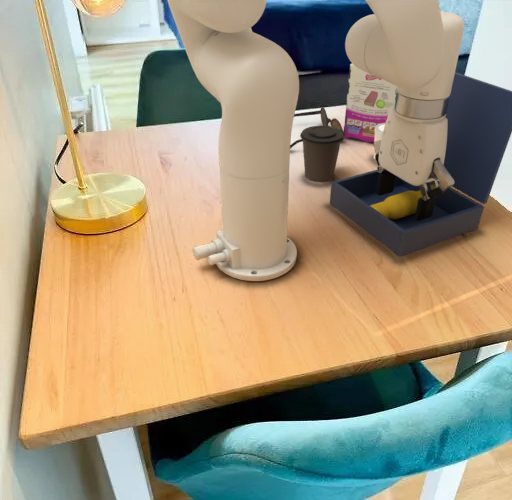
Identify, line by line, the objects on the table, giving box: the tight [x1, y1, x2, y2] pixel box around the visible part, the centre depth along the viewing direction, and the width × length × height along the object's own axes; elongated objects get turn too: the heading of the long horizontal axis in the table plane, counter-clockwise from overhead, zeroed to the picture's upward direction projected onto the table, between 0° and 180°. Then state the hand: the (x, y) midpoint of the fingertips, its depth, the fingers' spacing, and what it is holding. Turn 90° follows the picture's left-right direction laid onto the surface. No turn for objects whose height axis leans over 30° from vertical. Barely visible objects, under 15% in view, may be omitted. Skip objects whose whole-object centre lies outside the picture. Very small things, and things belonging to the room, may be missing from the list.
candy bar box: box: [343, 62, 398, 144], centre depth 110 cm, size 11×5×16 cm, turn 62°
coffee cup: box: [299, 125, 345, 183], centre depth 96 cm, size 8×8×10 cm
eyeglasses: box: [290, 106, 346, 150], centre depth 114 cm, size 15×15×5 cm
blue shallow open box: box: [329, 169, 485, 258], centre depth 85 cm, size 16×18×5 cm
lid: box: [443, 71, 512, 205], centre depth 82 cm, size 17×18×5 cm
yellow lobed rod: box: [371, 190, 422, 220], centre depth 85 cm, size 14×4×4 cm, turn 118°
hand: (403, 205), depth 85 cm, fingers open, 9 cm apart
